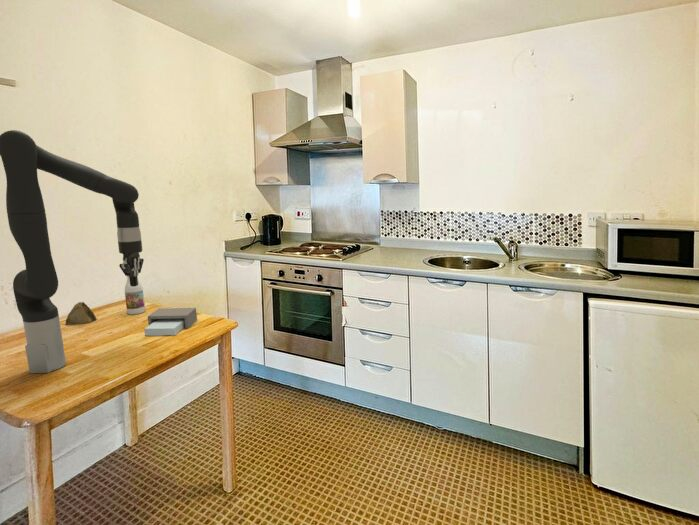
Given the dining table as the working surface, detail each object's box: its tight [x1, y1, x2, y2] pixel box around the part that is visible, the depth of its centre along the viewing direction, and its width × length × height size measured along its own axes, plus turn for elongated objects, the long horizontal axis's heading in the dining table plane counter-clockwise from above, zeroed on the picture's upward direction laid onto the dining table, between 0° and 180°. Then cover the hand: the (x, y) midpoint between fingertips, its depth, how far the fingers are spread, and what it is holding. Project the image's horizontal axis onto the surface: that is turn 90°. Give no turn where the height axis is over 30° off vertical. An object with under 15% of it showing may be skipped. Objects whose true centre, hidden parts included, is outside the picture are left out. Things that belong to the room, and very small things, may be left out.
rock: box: [65, 301, 98, 325], centre depth 174 cm, size 11×9×10 cm
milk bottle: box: [124, 276, 146, 315], centre depth 186 cm, size 8×8×20 cm
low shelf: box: [147, 307, 198, 329], centre depth 170 cm, size 11×16×6 cm, turn 92°
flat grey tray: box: [144, 318, 185, 337], centre depth 165 cm, size 16×12×3 cm
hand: (134, 285), depth 146 cm, fingers closed
